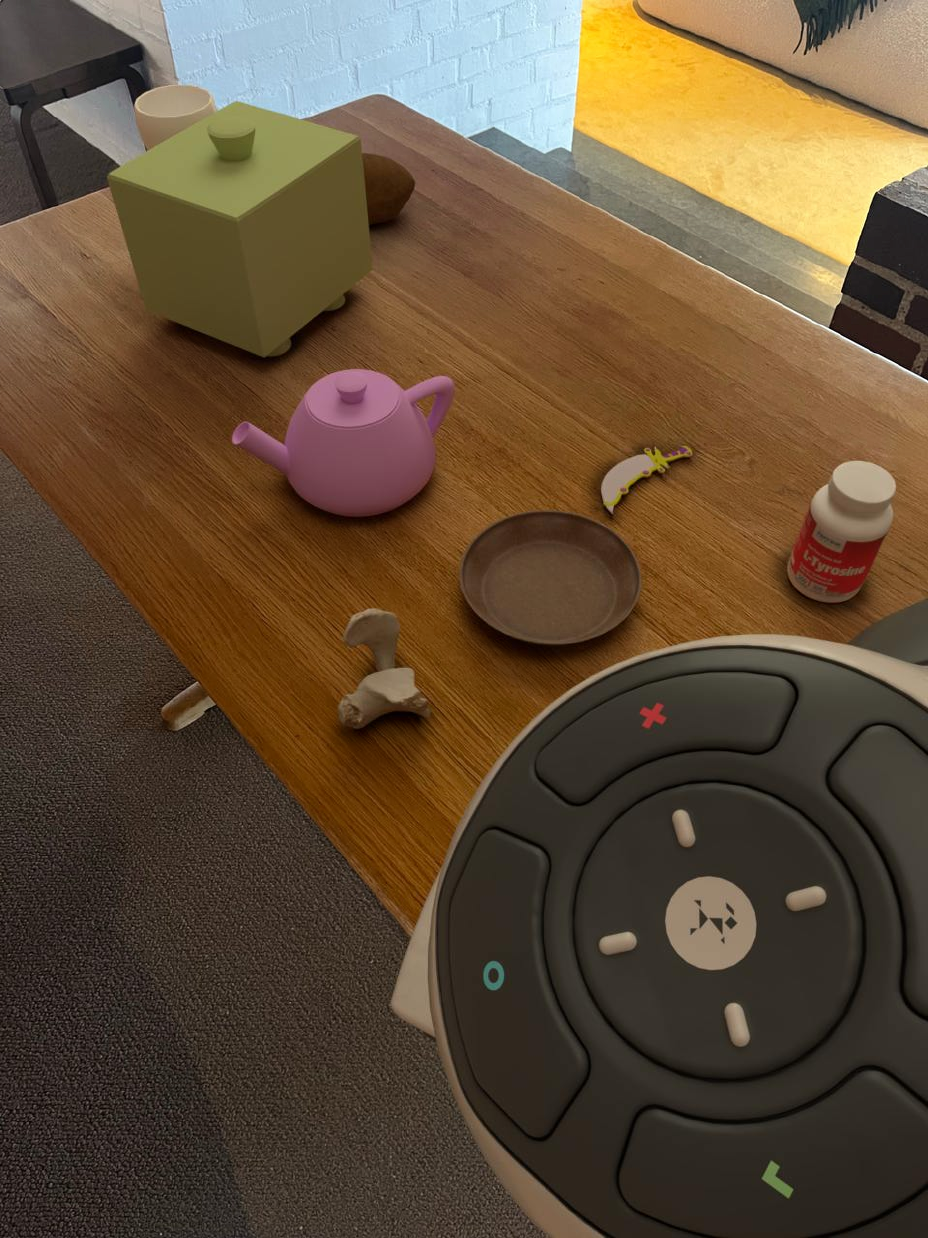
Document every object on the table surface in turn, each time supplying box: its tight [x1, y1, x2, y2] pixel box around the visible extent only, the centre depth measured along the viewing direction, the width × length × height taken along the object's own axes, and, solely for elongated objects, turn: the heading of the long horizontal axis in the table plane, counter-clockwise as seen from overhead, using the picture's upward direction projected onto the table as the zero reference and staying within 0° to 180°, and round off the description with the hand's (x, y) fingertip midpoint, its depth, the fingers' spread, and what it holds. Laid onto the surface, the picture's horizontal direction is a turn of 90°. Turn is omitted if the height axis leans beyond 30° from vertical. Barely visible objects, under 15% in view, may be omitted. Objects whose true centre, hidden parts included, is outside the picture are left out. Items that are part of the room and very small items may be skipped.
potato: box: [362, 152, 416, 226], centre depth 116 cm, size 8×12×8 cm, turn 114°
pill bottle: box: [786, 460, 897, 604], centre depth 76 cm, size 6×6×11 cm
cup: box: [133, 84, 218, 151], centre depth 110 cm, size 9×9×16 cm
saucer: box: [458, 509, 643, 647], centre depth 79 cm, size 15×15×3 cm
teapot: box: [231, 368, 455, 518], centre depth 85 cm, size 14×20×11 cm
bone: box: [337, 608, 431, 730], centre depth 70 cm, size 9×6×10 cm
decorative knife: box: [600, 445, 693, 515], centre depth 89 cm, size 12×1×5 cm
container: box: [106, 100, 373, 358], centre depth 99 cm, size 19×16×20 cm
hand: (727, 1056), depth 36 cm, fingers open, 8 cm apart
